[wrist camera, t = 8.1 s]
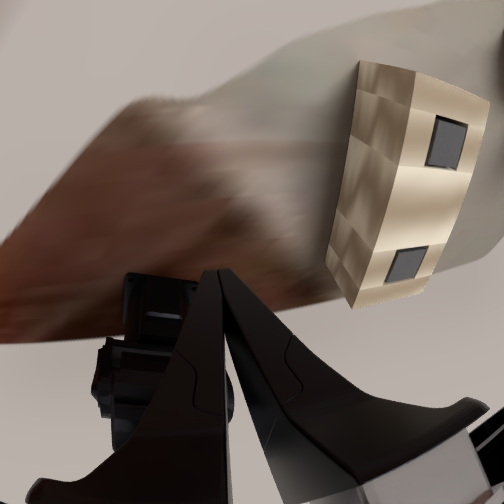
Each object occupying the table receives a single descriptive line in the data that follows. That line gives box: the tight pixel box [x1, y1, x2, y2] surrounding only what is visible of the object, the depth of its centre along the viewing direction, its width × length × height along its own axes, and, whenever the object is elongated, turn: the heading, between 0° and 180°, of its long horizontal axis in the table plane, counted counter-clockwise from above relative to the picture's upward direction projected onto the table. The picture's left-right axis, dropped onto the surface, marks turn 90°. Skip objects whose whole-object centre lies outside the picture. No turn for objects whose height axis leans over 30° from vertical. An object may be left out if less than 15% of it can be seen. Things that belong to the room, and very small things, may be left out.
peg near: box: [425, 115, 466, 168], centre depth 17 cm, size 3×3×5 cm
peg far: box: [385, 246, 426, 283], centre depth 23 cm, size 3×3×5 cm
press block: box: [325, 61, 490, 309], centre depth 20 cm, size 18×8×6 cm, turn 177°
